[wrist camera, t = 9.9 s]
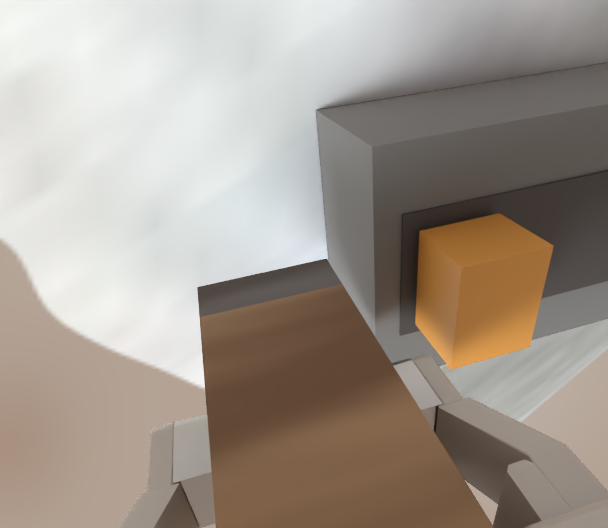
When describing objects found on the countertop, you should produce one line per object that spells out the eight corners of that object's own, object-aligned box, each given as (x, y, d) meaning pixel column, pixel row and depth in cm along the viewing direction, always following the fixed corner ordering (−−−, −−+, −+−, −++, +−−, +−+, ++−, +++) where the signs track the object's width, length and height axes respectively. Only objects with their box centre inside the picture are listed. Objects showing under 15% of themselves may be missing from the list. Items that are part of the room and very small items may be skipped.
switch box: (316, 110, 18) (373, 147, 12) (637, 57, 20) (793, 70, 15) (332, 303, 23) (377, 385, 18) (585, 241, 25) (688, 297, 20)
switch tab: (419, 230, 14) (461, 267, 12) (499, 213, 15) (553, 245, 12) (415, 324, 16) (450, 369, 14) (485, 305, 17) (529, 346, 15)
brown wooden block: (197, 287, 13) (238, 830, 4) (326, 258, 13) (586, 677, 5) (224, 382, 15) (287, 872, 6) (334, 353, 15) (524, 760, 7)
